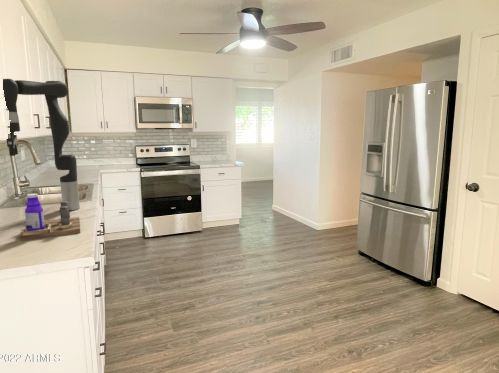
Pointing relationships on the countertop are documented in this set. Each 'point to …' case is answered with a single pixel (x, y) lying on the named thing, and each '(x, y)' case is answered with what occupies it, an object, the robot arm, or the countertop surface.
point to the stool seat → (55, 226)
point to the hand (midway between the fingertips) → (14, 155)
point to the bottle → (34, 213)
